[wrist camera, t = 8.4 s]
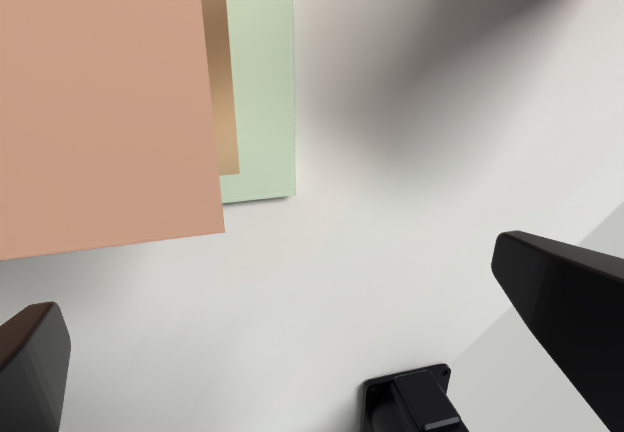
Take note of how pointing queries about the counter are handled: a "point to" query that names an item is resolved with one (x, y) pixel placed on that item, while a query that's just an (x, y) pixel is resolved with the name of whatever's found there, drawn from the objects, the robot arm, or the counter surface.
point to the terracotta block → (104, 125)
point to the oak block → (221, 84)
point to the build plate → (262, 99)
